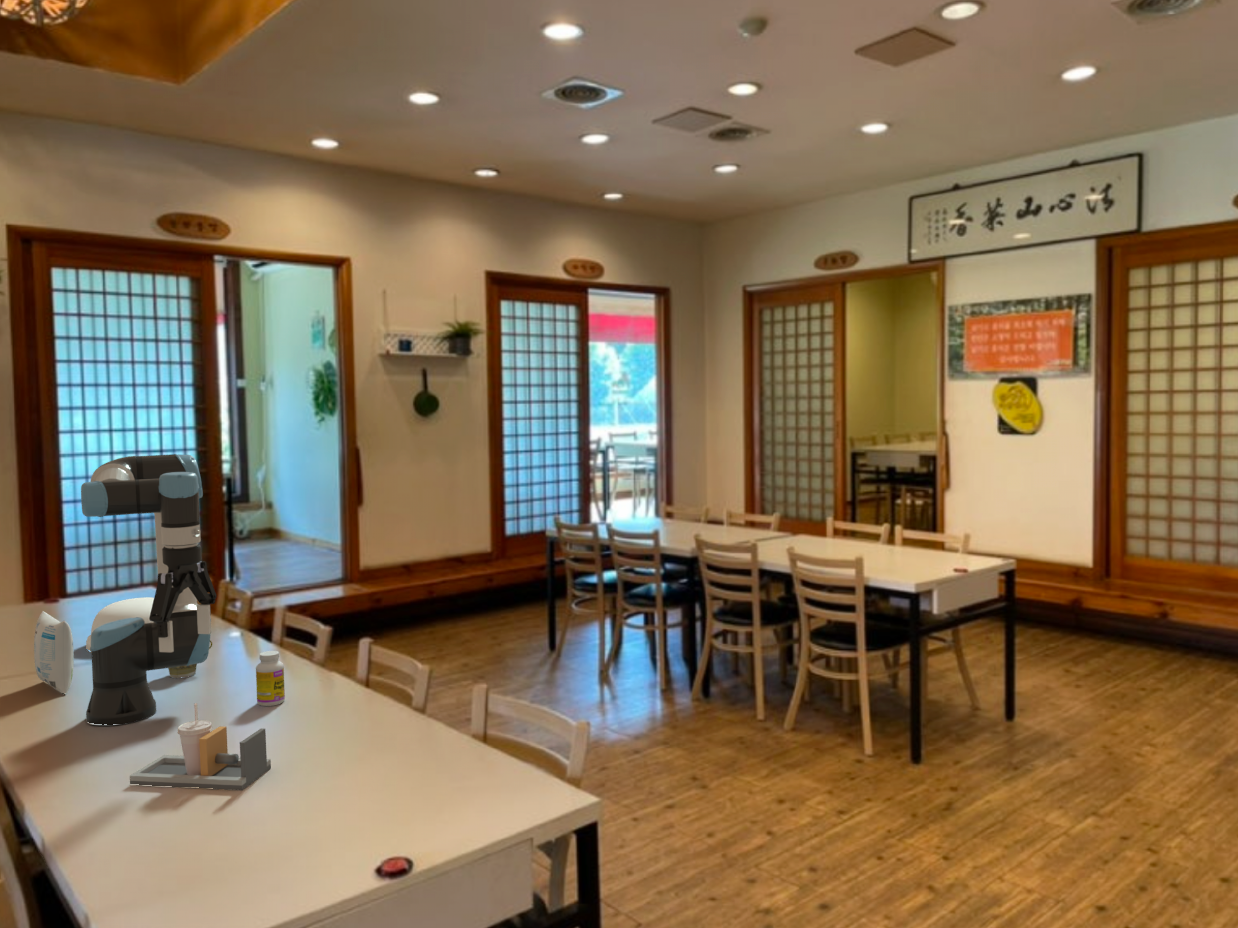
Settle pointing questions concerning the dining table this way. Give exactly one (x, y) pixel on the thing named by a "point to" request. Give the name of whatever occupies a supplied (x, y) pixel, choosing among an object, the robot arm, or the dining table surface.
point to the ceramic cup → (183, 670)
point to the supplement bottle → (270, 679)
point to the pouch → (54, 652)
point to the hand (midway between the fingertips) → (186, 642)
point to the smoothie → (193, 742)
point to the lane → (228, 778)
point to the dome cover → (122, 613)
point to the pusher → (215, 752)
